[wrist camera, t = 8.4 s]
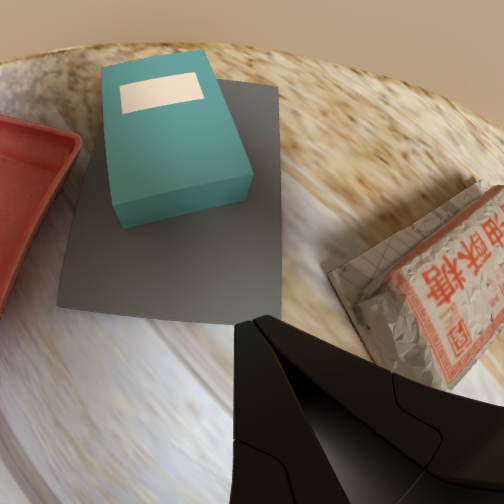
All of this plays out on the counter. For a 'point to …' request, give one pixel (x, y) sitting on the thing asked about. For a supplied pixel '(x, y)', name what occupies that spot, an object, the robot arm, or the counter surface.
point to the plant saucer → (28, 187)
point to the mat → (186, 239)
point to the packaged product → (432, 290)
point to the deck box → (170, 139)
